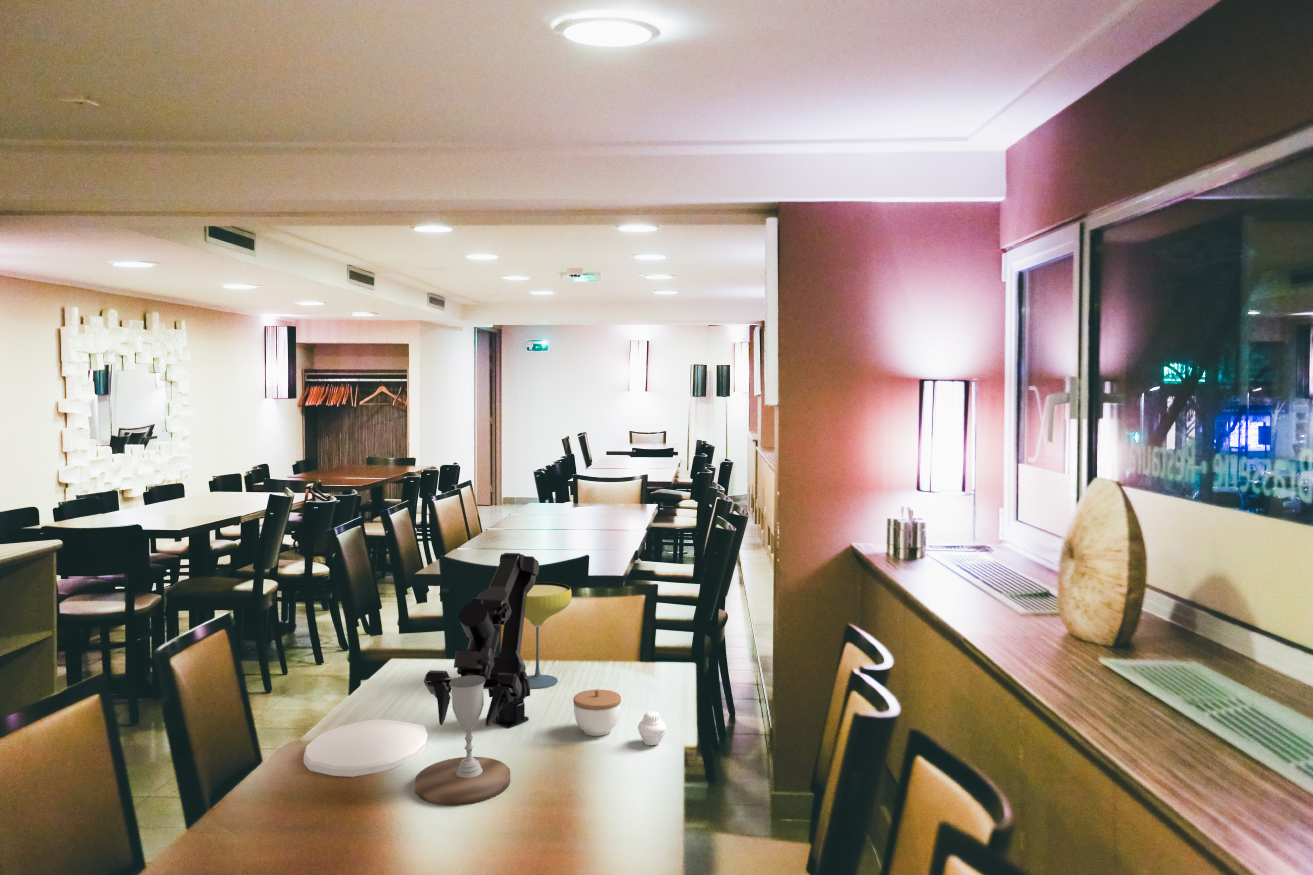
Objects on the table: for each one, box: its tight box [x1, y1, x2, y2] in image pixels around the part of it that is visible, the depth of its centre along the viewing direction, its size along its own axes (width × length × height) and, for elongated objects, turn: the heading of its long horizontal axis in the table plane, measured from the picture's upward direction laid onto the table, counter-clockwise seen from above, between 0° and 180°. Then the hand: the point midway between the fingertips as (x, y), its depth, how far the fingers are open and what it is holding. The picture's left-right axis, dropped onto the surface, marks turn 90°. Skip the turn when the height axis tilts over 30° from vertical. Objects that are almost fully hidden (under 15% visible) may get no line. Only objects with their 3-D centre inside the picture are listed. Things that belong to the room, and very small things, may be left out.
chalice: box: [449, 675, 486, 778], centre depth 163 cm, size 7×7×18 cm
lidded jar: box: [572, 688, 622, 737], centre depth 189 cm, size 11×11×9 cm
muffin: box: [637, 710, 667, 746], centre depth 182 cm, size 6×6×7 cm
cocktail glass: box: [524, 581, 573, 690], centre depth 222 cm, size 18×18×25 cm
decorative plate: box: [303, 718, 429, 778], centre depth 178 cm, size 25×4×25 cm
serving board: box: [414, 756, 511, 806], centre depth 162 cm, size 18×18×2 cm
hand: (463, 724), depth 162 cm, fingers open, 9 cm apart
